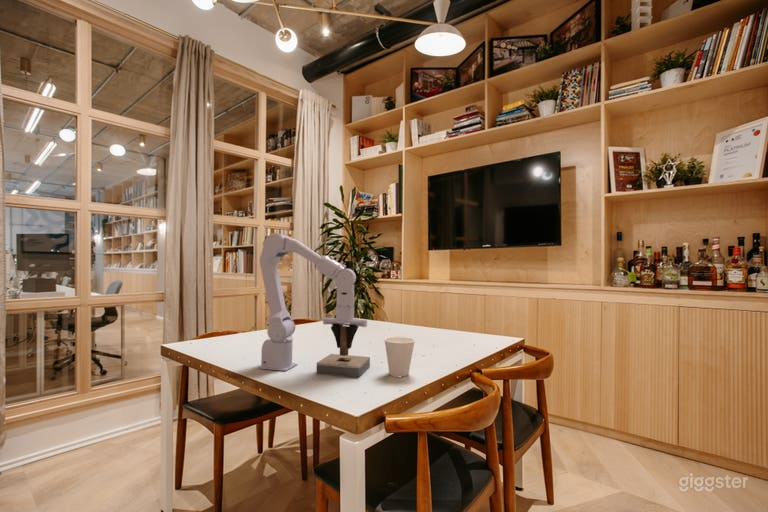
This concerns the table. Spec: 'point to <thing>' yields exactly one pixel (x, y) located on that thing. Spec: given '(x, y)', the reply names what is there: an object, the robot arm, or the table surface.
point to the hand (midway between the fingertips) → (344, 347)
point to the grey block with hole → (343, 365)
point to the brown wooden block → (343, 341)
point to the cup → (399, 354)
